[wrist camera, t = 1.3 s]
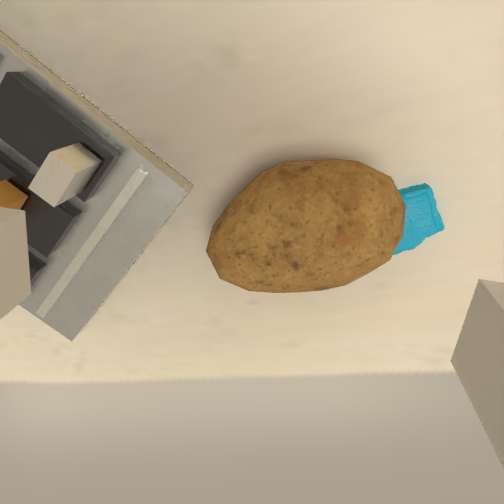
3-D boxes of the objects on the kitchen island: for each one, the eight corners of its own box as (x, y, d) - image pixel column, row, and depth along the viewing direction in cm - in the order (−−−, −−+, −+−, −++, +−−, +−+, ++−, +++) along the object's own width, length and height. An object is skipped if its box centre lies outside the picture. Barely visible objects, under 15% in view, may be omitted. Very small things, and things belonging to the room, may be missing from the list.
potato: (199, 180, 36) (172, 209, 29) (376, 124, 33) (397, 140, 26) (239, 286, 40) (224, 337, 32) (404, 244, 37) (429, 289, 29)
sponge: (450, 253, 36) (437, 186, 33) (302, 291, 38) (280, 231, 36) (444, 244, 37) (432, 178, 35) (302, 281, 40) (280, 223, 37)
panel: (-111, 194, 40) (-202, 222, 33) (-25, 11, 33) (-115, -5, 26) (81, 329, 43) (36, 382, 36) (193, 185, 37) (166, 215, 29)
